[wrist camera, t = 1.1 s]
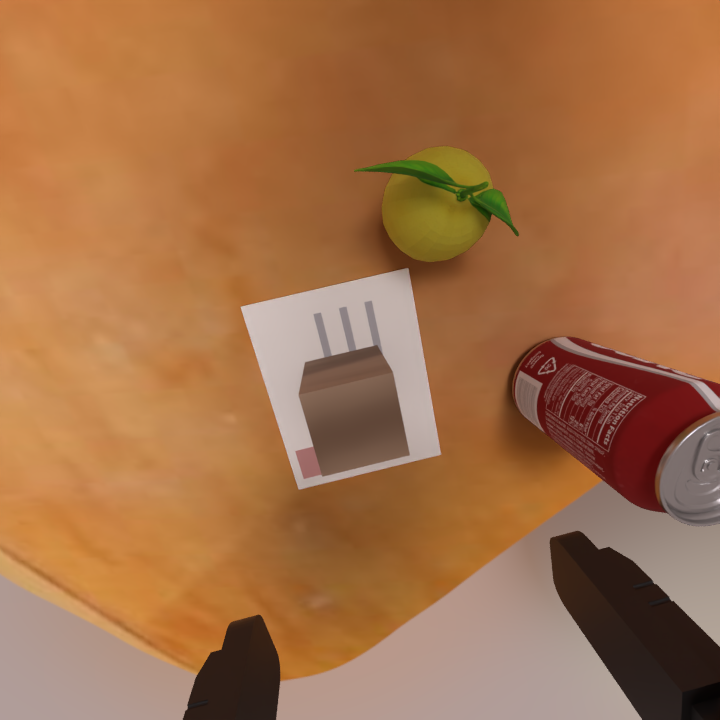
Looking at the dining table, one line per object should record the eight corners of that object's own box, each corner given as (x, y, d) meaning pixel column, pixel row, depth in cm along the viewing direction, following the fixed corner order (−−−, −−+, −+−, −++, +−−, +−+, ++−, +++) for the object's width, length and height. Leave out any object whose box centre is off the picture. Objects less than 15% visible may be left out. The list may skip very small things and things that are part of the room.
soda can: (502, 422, 27) (630, 543, 16) (513, 334, 25) (668, 399, 14) (585, 419, 28) (768, 533, 16) (602, 333, 26) (823, 395, 14)
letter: (241, 306, 23) (240, 307, 23) (407, 267, 23) (408, 267, 23) (299, 487, 27) (298, 489, 27) (439, 452, 27) (441, 454, 27)
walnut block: (304, 362, 24) (298, 394, 18) (377, 344, 24) (393, 372, 19) (323, 427, 26) (322, 476, 20) (391, 410, 26) (409, 455, 20)
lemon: (345, 196, 22) (360, 148, 12) (426, 136, 21) (507, 38, 12) (403, 287, 24) (456, 308, 14) (479, 234, 23) (586, 219, 14)
